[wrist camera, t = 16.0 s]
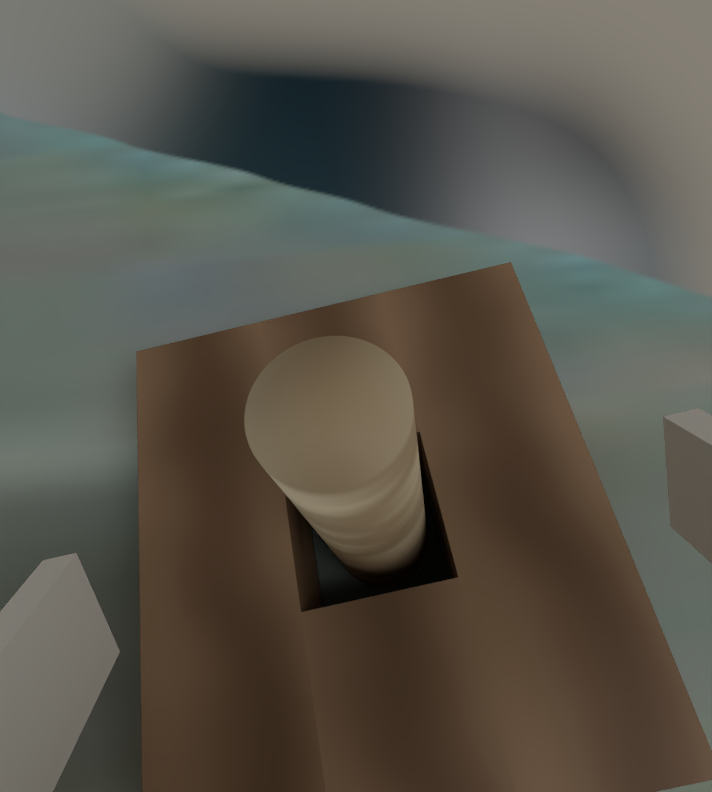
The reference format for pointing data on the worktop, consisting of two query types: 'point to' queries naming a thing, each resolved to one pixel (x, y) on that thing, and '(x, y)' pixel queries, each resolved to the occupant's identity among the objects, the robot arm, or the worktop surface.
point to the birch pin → (345, 452)
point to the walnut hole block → (405, 609)
